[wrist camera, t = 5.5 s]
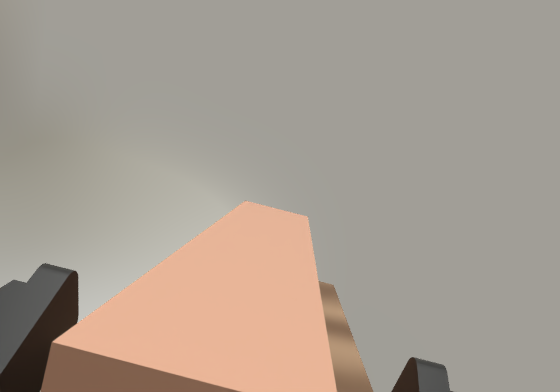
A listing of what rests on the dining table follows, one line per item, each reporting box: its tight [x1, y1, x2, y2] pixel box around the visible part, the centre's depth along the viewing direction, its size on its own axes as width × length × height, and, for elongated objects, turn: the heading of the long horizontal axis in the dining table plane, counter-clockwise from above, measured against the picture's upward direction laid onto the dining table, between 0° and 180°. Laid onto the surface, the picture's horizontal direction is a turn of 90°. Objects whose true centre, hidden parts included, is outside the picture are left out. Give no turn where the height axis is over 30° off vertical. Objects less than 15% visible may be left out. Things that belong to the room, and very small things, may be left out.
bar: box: [41, 201, 337, 392], centre depth 20 cm, size 26×4×4 cm, turn 178°
